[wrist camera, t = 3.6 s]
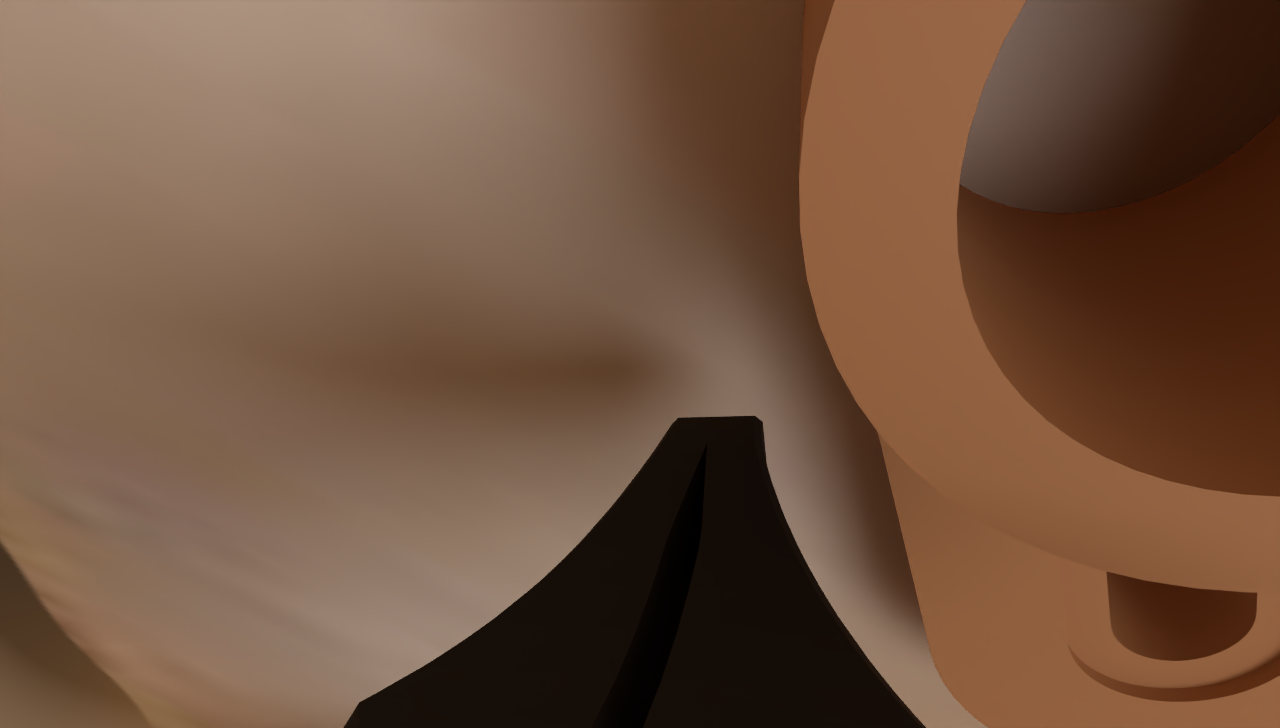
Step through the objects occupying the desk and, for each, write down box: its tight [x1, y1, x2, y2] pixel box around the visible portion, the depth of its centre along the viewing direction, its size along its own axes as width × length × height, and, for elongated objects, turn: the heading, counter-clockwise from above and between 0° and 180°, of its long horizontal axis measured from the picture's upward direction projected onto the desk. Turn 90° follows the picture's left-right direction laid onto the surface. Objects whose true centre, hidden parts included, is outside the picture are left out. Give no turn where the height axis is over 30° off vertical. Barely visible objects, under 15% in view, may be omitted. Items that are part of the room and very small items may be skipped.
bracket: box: [799, 0, 1280, 728], centre depth 11 cm, size 18×8×7 cm, turn 20°
